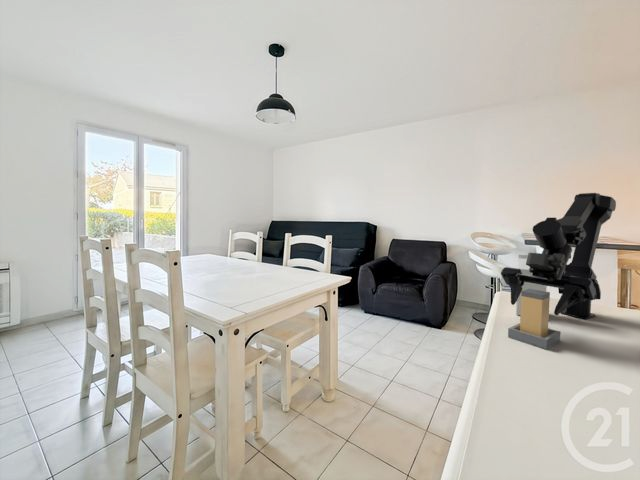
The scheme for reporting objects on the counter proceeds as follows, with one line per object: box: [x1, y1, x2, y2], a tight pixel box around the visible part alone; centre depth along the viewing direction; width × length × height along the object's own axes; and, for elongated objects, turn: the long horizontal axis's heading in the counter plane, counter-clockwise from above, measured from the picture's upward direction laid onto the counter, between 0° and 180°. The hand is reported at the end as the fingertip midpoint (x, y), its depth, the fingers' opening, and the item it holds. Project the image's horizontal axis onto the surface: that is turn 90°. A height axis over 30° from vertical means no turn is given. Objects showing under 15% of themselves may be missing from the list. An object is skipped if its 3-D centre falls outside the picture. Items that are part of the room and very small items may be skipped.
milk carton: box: [515, 254, 547, 317], centre depth 86 cm, size 7×7×19 cm
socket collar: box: [507, 322, 561, 350], centre depth 70 cm, size 8×8×2 cm
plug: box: [519, 289, 551, 338], centre depth 70 cm, size 4×4×12 cm
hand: (532, 308), depth 69 cm, fingers open, 9 cm apart
